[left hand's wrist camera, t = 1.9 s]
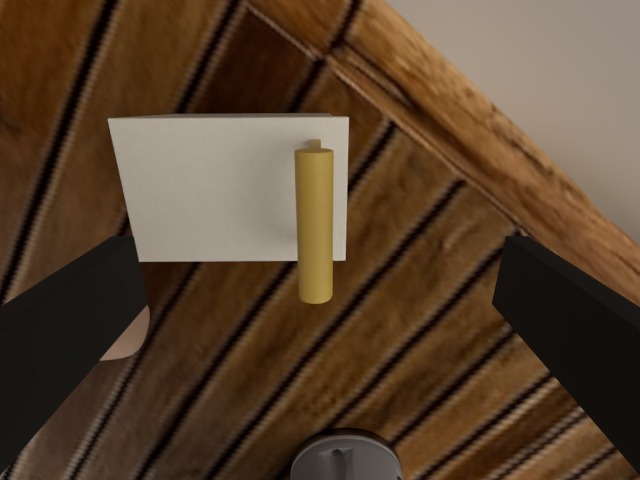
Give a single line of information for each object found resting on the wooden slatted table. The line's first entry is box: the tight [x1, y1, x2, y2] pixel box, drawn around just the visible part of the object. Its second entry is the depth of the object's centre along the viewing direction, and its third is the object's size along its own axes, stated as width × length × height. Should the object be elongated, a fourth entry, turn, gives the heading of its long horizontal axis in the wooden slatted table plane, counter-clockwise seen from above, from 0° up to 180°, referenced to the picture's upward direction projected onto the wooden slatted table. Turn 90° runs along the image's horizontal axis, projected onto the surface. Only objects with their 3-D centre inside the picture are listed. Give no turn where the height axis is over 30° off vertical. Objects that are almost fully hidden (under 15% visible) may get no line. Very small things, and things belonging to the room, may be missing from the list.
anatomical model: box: [99, 305, 150, 361], centre depth 38 cm, size 13×4×12 cm
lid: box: [108, 117, 349, 304], centre depth 20 cm, size 15×10×9 cm, turn 90°
